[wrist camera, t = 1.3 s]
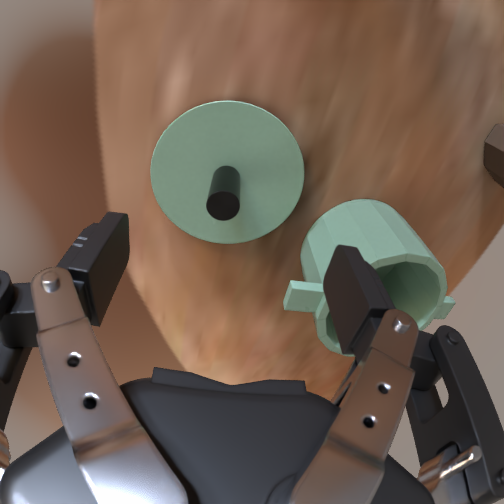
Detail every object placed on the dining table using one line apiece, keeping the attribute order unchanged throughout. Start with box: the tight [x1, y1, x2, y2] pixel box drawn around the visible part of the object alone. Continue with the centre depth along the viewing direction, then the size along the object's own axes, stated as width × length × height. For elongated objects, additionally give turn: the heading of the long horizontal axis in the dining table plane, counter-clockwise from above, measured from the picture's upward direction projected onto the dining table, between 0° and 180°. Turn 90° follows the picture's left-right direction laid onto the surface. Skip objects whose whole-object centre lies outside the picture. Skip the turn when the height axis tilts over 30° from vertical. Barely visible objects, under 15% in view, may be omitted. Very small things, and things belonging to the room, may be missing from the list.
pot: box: [283, 199, 455, 356], centre depth 28 cm, size 13×18×10 cm
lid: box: [151, 101, 304, 244], centre depth 24 cm, size 14×14×7 cm
